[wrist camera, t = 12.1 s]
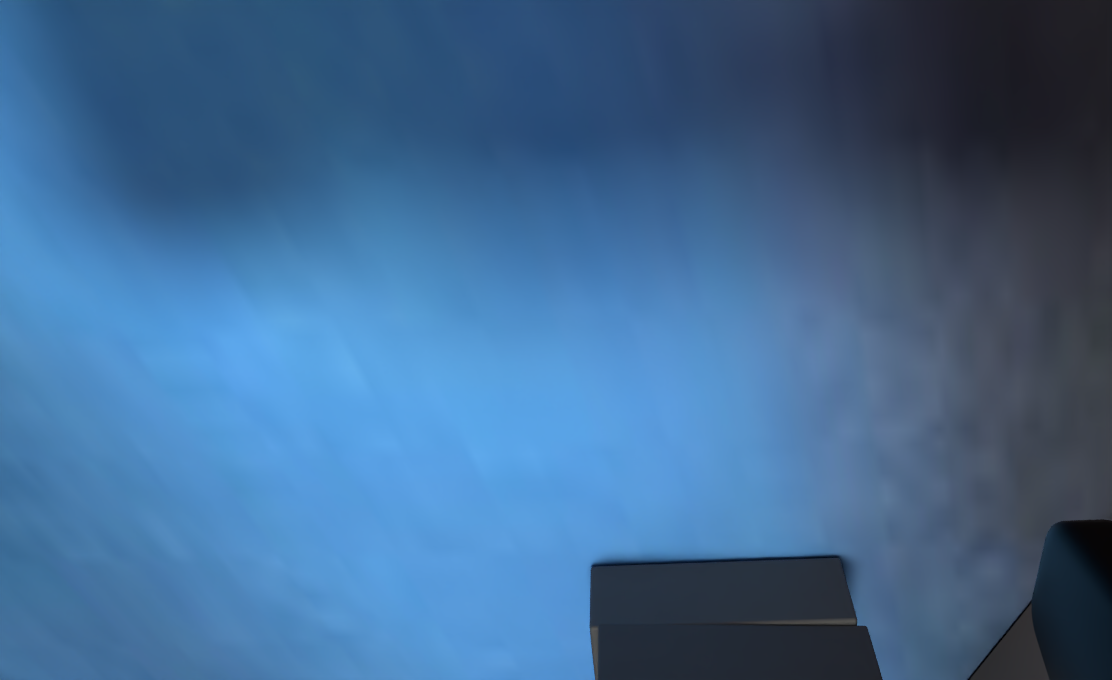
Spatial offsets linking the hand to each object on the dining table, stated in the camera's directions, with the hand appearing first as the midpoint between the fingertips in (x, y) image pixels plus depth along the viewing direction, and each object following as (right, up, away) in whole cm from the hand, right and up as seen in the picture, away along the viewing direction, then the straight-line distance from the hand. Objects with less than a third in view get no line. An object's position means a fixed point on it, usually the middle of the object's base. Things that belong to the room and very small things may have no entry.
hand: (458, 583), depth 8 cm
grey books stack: (+5, -7, +18) cm, 20 cm away
